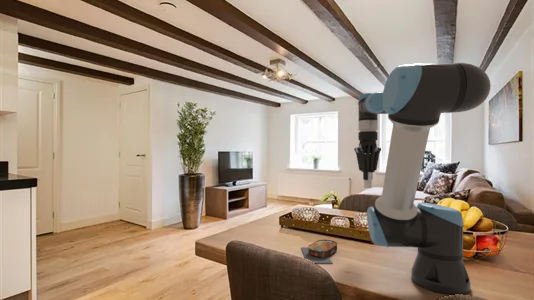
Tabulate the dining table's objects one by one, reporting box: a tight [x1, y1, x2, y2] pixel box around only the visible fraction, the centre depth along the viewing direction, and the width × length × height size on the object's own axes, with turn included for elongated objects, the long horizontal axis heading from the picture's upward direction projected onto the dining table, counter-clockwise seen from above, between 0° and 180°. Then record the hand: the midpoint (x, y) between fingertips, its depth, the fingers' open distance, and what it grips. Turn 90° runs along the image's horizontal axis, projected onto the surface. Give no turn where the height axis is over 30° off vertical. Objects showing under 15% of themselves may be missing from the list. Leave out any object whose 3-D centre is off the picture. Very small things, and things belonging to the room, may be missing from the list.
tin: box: [307, 239, 338, 258], centre depth 110 cm, size 15×3×8 cm
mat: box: [300, 246, 333, 265], centre depth 107 cm, size 16×9×1 cm, turn 0°
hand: (367, 187), depth 117 cm, fingers closed
